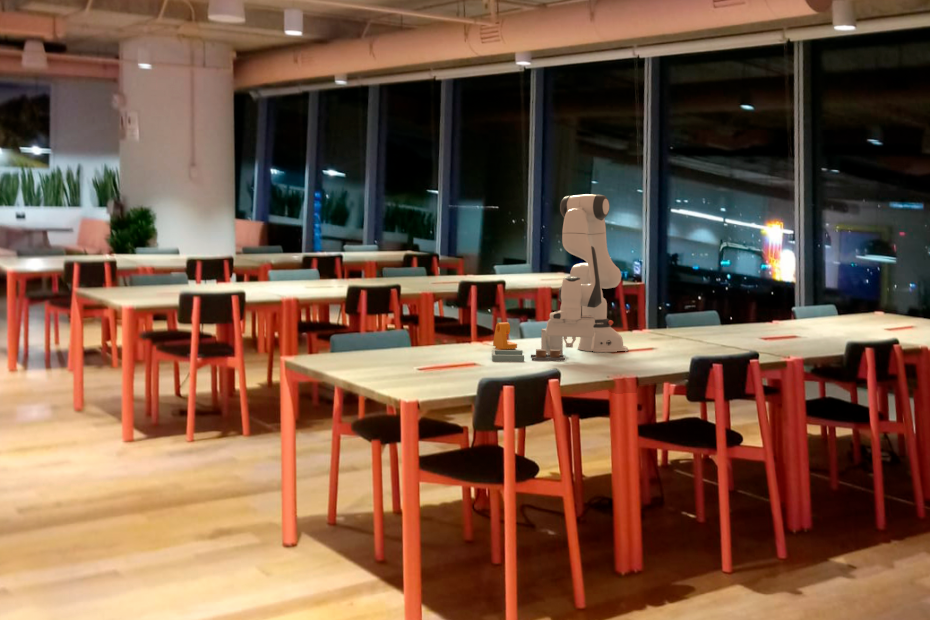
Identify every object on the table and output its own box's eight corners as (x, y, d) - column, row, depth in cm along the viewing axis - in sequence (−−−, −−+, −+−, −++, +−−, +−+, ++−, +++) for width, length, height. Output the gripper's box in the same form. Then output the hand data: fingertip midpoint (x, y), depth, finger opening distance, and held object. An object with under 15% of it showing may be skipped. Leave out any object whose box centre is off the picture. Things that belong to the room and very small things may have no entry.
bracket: (517, 350, 461) (518, 323, 459) (503, 350, 458) (503, 324, 456) (507, 346, 470) (507, 320, 469) (493, 347, 467) (493, 321, 466)
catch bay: (522, 356, 442) (522, 350, 442) (524, 361, 428) (524, 355, 428) (491, 355, 442) (491, 350, 442) (492, 361, 428) (492, 355, 428)
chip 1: (545, 358, 437) (545, 349, 437) (545, 359, 433) (545, 350, 433) (535, 358, 437) (535, 349, 437) (536, 359, 433) (536, 350, 433)
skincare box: (540, 351, 456) (540, 328, 455) (553, 351, 458) (554, 327, 457) (549, 355, 446) (549, 331, 445) (563, 354, 448) (563, 330, 447)
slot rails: (563, 357, 439) (563, 354, 439) (565, 360, 431) (565, 357, 431) (530, 357, 439) (530, 354, 439) (532, 360, 431) (532, 357, 431)
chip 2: (559, 358, 437) (559, 349, 437) (560, 360, 433) (560, 350, 433) (549, 358, 437) (550, 349, 437) (550, 360, 433) (550, 350, 433)
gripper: (594, 315, 436) (593, 347, 437) (546, 313, 436) (545, 345, 438) (595, 316, 429) (594, 349, 431) (547, 314, 430) (545, 347, 431)
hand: (569, 347), depth 434 cm, fingers closed
